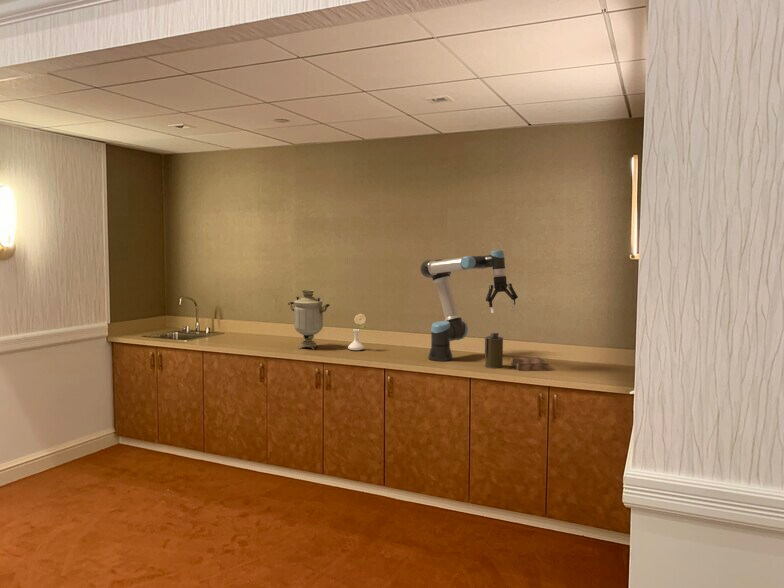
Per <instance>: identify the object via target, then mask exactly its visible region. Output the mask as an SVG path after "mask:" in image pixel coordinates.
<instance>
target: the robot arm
mask: <svg viewBox="0 0 784 588" xmlns="http://www.w3.org/2000/svg"><path fill="white" fill-rule="evenodd" d="M504 252H505V251H504V250H503V249H497V250H492V251H491V252H490V254H488V255H465V256H463V257H457V258H456V257H455V258H449V259H443V258H442V259H441V258H439V259H427V260H424V261H423V262H422V263H421V265H420V267H419V268H420V273H421V274H422V276H423V277H425V278H427V279H428V278H430V279H432V282H433V283H435V285H436V288H437V292H438V297H439V299H440V305H441V307H442V310H443V311H442V312H443V315H444V318H445V319H444V320H441V321H440V320H439V321H435V322H433V323H432V324H431V329H430V331H431V332H430V333H431V336H430V337H431V338H430V339H431V340H430V341H431V345H430V346H431V347H430V350H429V352H428V355H427V357H428V360H430V361H433V362H448V361H452V360H453V353H452V350H451V346H450V345H451V342H452V341H453V342H454V341H460V340H463V339H464V338H466V337H467V334H468V332H469V331H468V328H469V327H468V324H467V322H465V321H463V318H462V317H461V316H460V315H459V313H458V309H457V306H456V303H455V298H454V294H453V292H452V288H451V284H450V283H451V282H450V279H451V274H452V272H457V271H464V270H474V269H481V270H483V269H487V268H488V269H489V268H491V269H492V276H493V284H490V285H488V286H489V287H488V288H489V289H488V292H487V295H486V297H485V302H488V305H489V306H488V307H489V308H490V312H491V313H490V314H494V313H495V304H494V299H495V297H496V296H497V295H498V293H501V292H504V293H505V294H506V295H507V296H508V297H509V298H510V309H511V311H512V312H514V311H516V308H515V305H516V300H517V299H518V298H519V297H518V295H517V293H516V291H515V289H514V288H513V284H512V283H507V282H508V281H507V276H506V275H507V271H506V260H505V259H506V257H505V254H504Z"/></svg>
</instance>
